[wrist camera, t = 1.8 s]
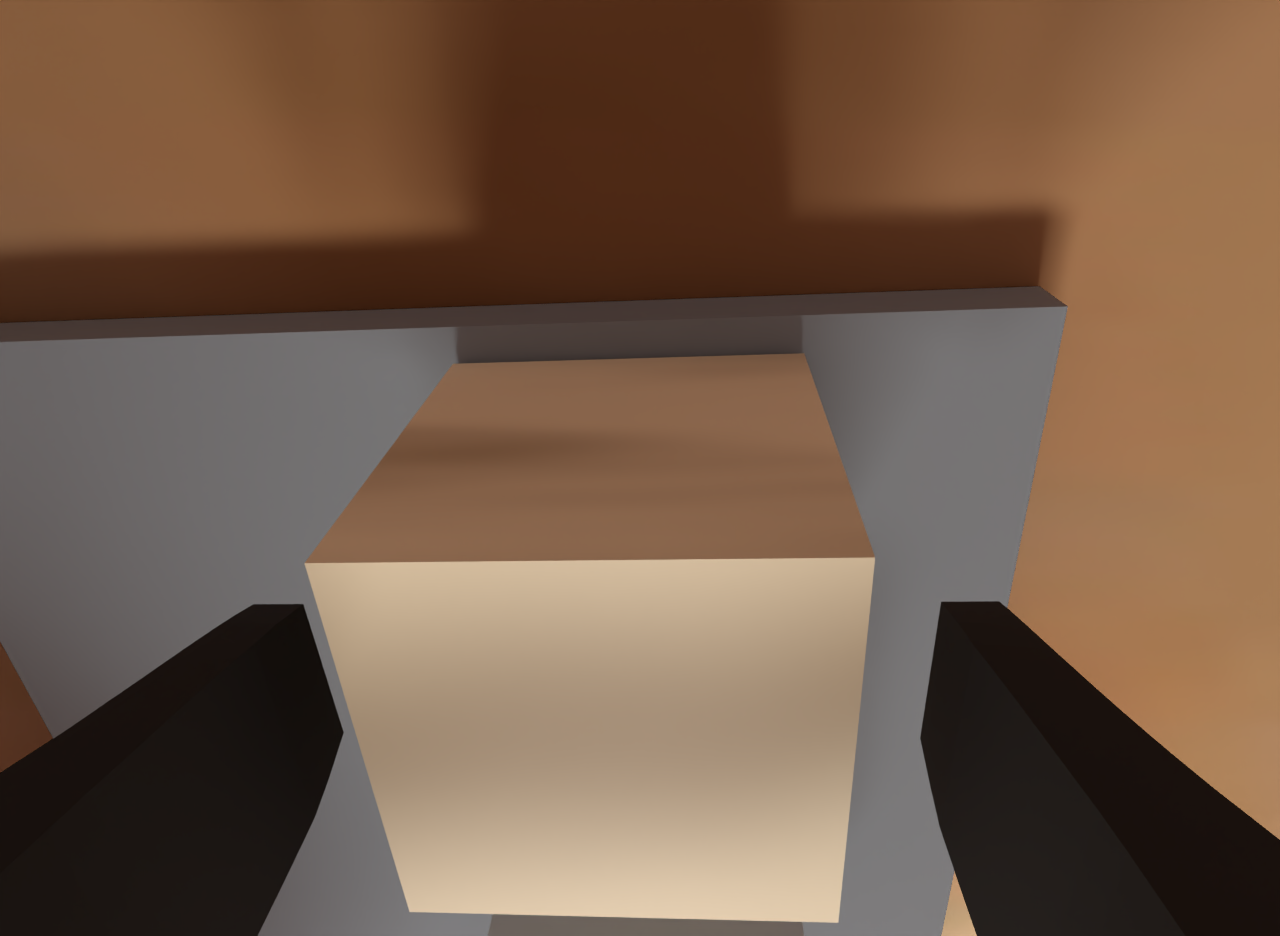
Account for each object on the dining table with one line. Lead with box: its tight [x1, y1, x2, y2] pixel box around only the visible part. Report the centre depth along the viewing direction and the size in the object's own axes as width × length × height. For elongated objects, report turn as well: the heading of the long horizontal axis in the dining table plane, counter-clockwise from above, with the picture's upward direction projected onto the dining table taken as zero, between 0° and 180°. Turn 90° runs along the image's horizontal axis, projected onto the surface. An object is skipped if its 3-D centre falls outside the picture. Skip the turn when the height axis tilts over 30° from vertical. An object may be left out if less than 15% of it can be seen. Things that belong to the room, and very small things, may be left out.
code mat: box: [0, 286, 1068, 936], centre depth 15 cm, size 15×18×1 cm
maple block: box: [304, 353, 875, 923], centre depth 10 cm, size 5×5×5 cm
